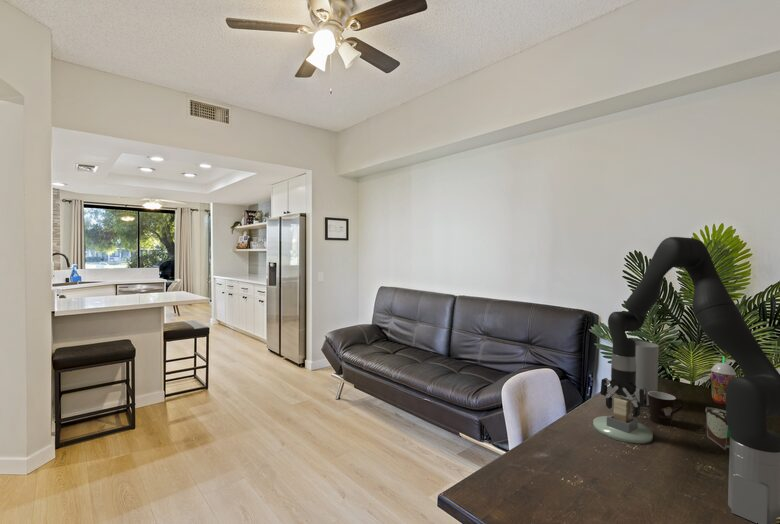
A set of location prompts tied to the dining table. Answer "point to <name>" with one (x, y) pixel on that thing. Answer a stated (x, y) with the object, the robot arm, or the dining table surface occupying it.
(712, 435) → the food container
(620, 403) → the beige rectangular block
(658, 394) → the coffee mug
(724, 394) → the smoothie
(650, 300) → the robot arm
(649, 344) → the cylinder vase
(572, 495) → the dining table surface
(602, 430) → the clip plate
